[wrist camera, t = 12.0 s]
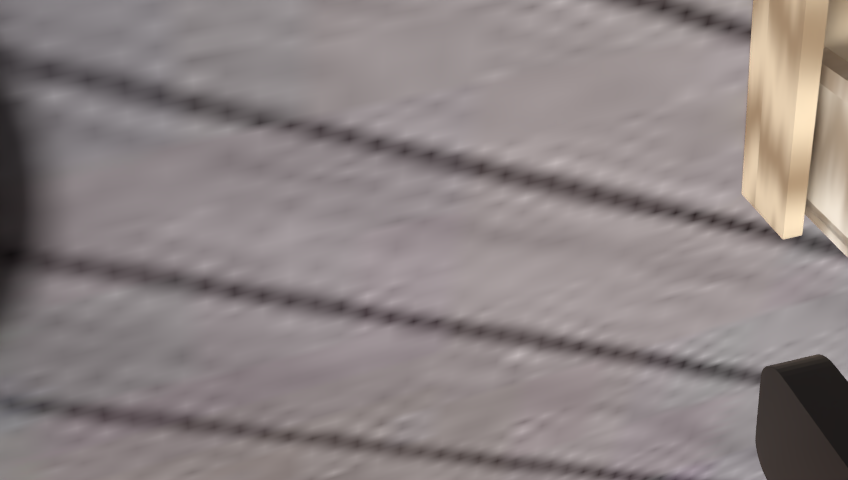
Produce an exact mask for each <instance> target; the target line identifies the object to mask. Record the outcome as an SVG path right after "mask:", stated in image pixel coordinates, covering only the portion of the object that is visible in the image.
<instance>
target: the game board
mask: <svg viewBox="0 0 848 480" xmlns="http://www.w3.org/2000/svg"><path fill="white" fill-rule="evenodd" d="M742 195H743V196H744V197H745V198H746V199H747V200H748V201H749V202H750V204H751V205H752V206H753V207H754V208H755V209H756V210H757V211H758V212H759V214H760V215H761V216H762V217H763V218H764V219H765V220H766V221H767V222H768V224H769V225H770V226H771V227H772V228H773V229H774V230H775V231H776V232H777V233H778V235H779V236H780V237H781V238H782V239H787V238H791V237H796V236H800V235H802V231H803V222H804V214H805V215H806V216H807V217H808V218H809V219H810V220H811V221H812V222H813V223H814V224H815V225H816V226H817V227H818V228H819V229H820V230H821V231H822V232H823V233H824V234H825V235H826V236H827V237H828V238H829V239H830V240H831V241H832V242H833V243H834V244H835V245H836V246H837V247H838V248H839V249H840V250H841V251H842V252H843V253H844V254H845V255H846V256H847V257H848V0H753V13H752V30H751V47H750V64H749V80H748V97H747V114H746V131H745V148H744V165H743V182H742Z"/></svg>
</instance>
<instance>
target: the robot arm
mask: <svg viewBox="0 0 848 480" xmlns="http://www.w3.org/2000/svg"><path fill="white" fill-rule="evenodd" d="M756 449H757V454H758V458H759V461H760V464H761V467H762V470H763V472H764V474H765V476H766V479H767V480H848V381H847V380H846V379H845V378H844V376H843V375H842V374H841V373H840V372H839V370H838V369H837V368H836V367H835V365H834V364H833V363H832V362H831V361H830V360H829V359H828V358H826V357H825V356H823V355H820V354H819V355H813V356H809V357H805V358H800V359H796V360H792V361H788V362H783V363H779V364H775V365H770V366H766V367H765V368H764V369H763V371H762V373H761V381H760V393H759V404H758V415H757V426H756Z"/></svg>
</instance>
